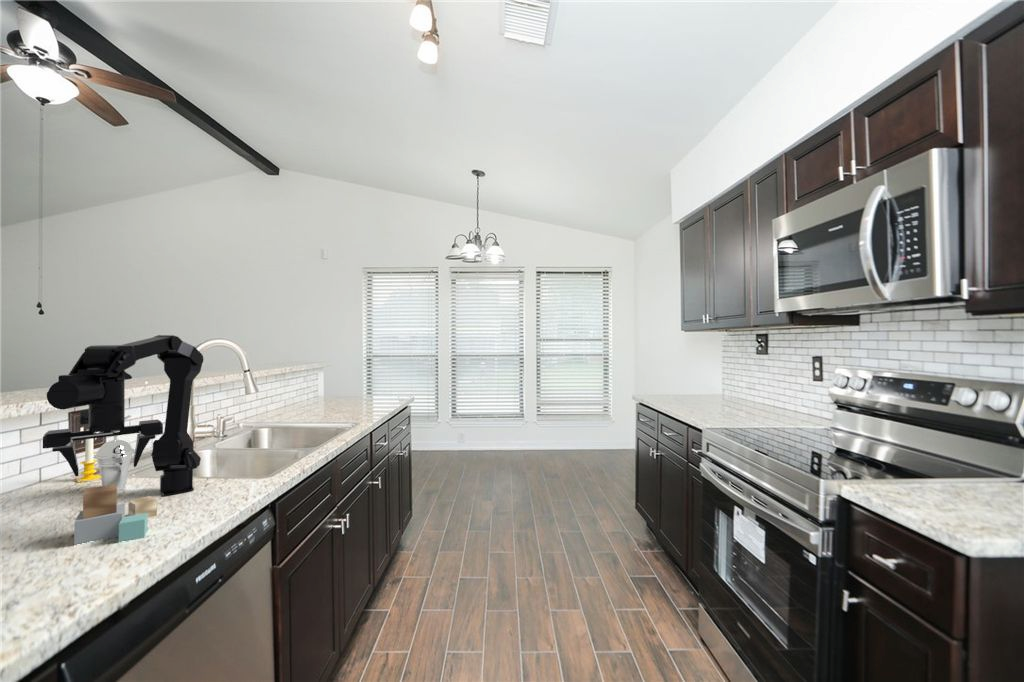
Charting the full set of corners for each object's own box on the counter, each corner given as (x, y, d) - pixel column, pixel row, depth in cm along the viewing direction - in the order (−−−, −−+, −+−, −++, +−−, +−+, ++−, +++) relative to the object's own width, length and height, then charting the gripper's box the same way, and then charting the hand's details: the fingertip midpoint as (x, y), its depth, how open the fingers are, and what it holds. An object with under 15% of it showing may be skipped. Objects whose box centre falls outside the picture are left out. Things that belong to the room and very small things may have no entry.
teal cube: (147, 531, 90) (147, 512, 90) (144, 538, 87) (144, 519, 87) (122, 535, 88) (123, 517, 88) (118, 543, 85) (118, 523, 85)
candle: (87, 476, 126) (88, 426, 126) (106, 476, 126) (106, 425, 126) (70, 482, 120) (71, 429, 120) (89, 482, 121) (90, 429, 121)
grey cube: (124, 525, 93) (124, 503, 93) (121, 536, 88) (121, 513, 88) (80, 534, 89) (80, 511, 89) (74, 546, 83) (74, 522, 83)
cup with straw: (85, 493, 112) (86, 420, 112) (124, 482, 121) (125, 414, 121) (105, 496, 110) (106, 422, 110) (144, 485, 118) (145, 416, 118)
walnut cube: (116, 505, 92) (116, 483, 92) (116, 512, 88) (116, 489, 88) (84, 512, 88) (84, 488, 88) (82, 519, 85) (83, 495, 85)
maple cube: (149, 512, 100) (149, 495, 100) (156, 515, 98) (157, 499, 98) (128, 518, 97) (128, 501, 97) (135, 522, 95) (135, 504, 95)
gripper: (158, 393, 104) (158, 455, 104) (47, 401, 91) (47, 471, 91) (163, 398, 96) (163, 465, 96) (42, 408, 83) (42, 485, 83)
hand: (107, 471), depth 92 cm, fingers open, 9 cm apart
